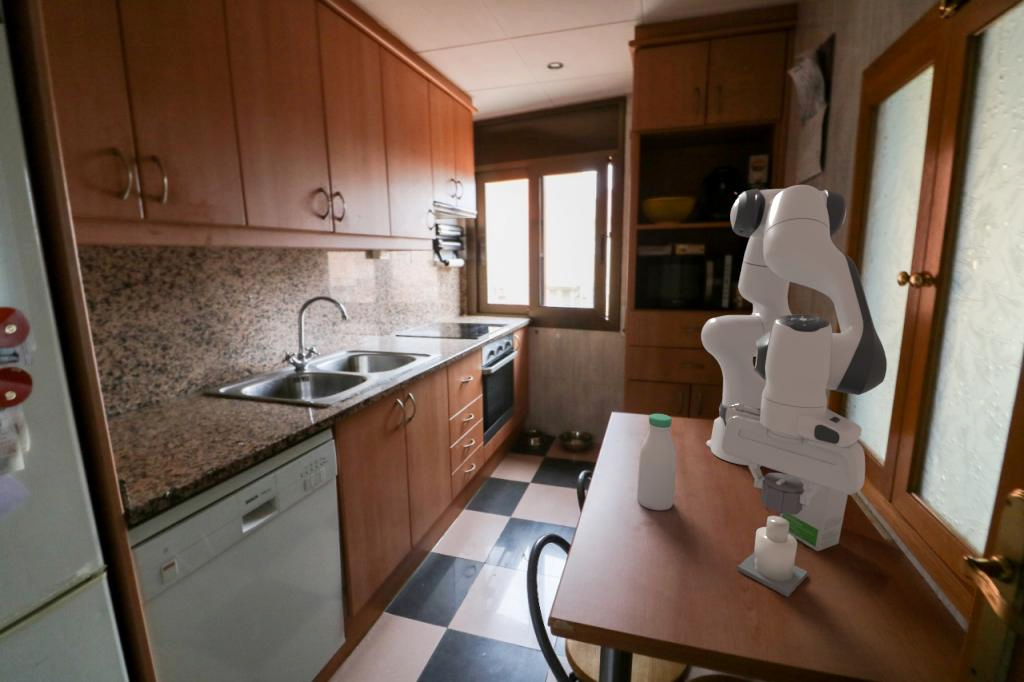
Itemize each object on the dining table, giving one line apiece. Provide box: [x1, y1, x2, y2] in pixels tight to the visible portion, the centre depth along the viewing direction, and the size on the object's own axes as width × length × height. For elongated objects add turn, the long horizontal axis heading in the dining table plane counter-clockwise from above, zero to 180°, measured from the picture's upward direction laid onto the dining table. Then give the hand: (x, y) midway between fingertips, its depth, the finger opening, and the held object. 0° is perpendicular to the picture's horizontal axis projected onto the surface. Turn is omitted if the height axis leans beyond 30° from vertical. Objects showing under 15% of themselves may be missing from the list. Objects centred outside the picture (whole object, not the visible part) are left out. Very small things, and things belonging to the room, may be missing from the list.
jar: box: [737, 515, 808, 598], centre depth 76 cm, size 8×8×10 cm
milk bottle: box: [636, 413, 677, 511], centre depth 98 cm, size 8×8×20 cm
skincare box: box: [779, 474, 849, 552], centre depth 86 cm, size 8×7×16 cm
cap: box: [760, 472, 804, 514], centre depth 74 cm, size 6×6×5 cm
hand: (782, 496), depth 74 cm, fingers closed on cap, 5 cm apart
